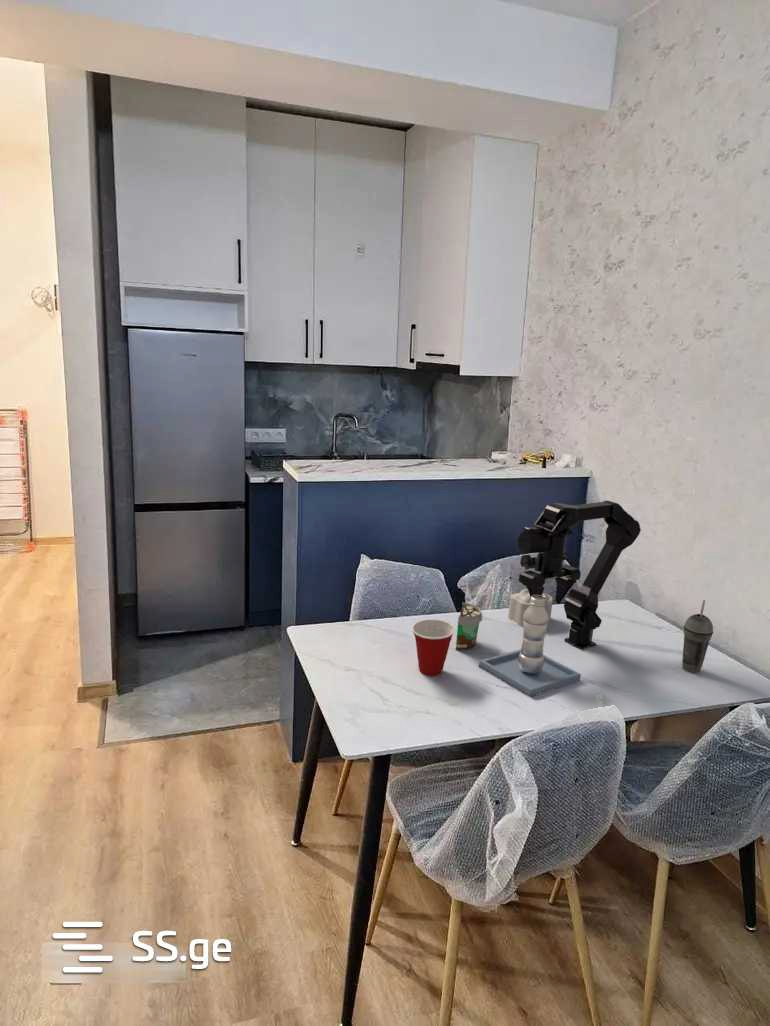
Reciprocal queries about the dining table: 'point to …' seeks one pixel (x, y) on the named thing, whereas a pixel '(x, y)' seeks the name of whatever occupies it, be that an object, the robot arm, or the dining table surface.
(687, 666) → the beverage cup
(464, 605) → the food container
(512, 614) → the beige lumpy box
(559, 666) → the blue-gray tray
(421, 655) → the plastic cup
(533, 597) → the plastic bottle
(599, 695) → the dining table surface
